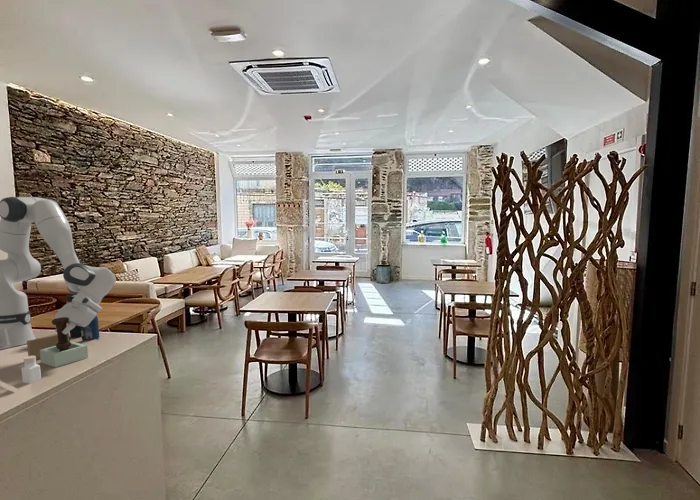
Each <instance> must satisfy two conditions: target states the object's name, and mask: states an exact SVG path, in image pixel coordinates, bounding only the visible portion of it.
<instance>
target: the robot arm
mask: <svg viewBox="0 0 700 500" xmlns="http://www.w3.org/2000/svg"><path fill="white" fill-rule="evenodd" d="M32 223H34V224H35V227H36V229H37V231H38V232H39V234H40V236H41V237H42V239H43V240H44V241H45V242H46V244H47V245H48V246H49V247H50V249H51V250H52V251H53V252H54V254H56V256H57V258H58V260H59V262H60V264H61V266H62V268H63V269H64V270H63V271H62V272H63V273H62V277H63V280H64V282H65V283H64V284H65V285H66V288H67V291H68V292H69V293H70V294H71V295H72V294H74V295H76V296H75V297H74V298H73V299H72V302H71V303H67V302H66V304H64V305H63V306H62V307H61V308H60V309H59V310H58V311H57V312H56V313H55V315H54V317H53V318H54V319H57V318H62V317H67V318H69V320H68V321H69V322H68V323H66V325H67V324H68V325H67V326H66V328H64V329H63V330H62V331H61V333H63V334H67V333H68V332H69V333H70V330H72V329H73V328H74V327H75V326H76V325H77V326H81V327H86V326H87V325H89V324H90V322H91V321H92V320H93V319H94V318H95V316H97V314H98V313H100V312H102V310H103V308H102V306H100V303H101V302H102V300H103V298H104V297H105V296H107V295H108V294H109V292H111V290H112V288H113V287H114V285H115V284H116V283H117V282H116V281H117V277H116V274H115V273H114V272H113V271H112V270H111V269H109V268H108V267H106V266H99V267H98V266H97V267H96V266H90V265H86V264H83V263H81V262H80V260H79V258H78V256H77V254H76V250H75V246H74V240H73V233H72V228H71V226H70V222H69V220H68V218H67V216H66V215H65V213H64V211H63V210H62V209H61V206H60V205H59V203H58V201H56V200H55V199H52V198H48V197H45V198H44V197H37V196H18V197H17V196H9V197H7V196H6V197H4V198H2V199H1V200H0V251H1V252H4V253H6V254H7V258H5V259H0V350H6V349H9V348H13V347H17V346H23V345H27V341H29V340H34V339H37V337H35V334H34V331H33V329H32V325H31V320H32V319H31V312H30V311H31V310H29V301H28V295H27V294H26V292H23V291H21V290H18V289H17V288H15V286H14V283H20V282H24V281H29V280H31V279H35V278H37V277H38V276H39V275H40V274H41V271H42V265H41V263H40V262H39V260H37V259H36V258H34V257H33V256H32V254H31V251H30V247H29V246H30V237H31V230H32V229H31V228H32ZM54 332H56V333H57V329H56V328H55V329H54Z"/></svg>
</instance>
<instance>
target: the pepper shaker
mask: <svg viewBox="0 0 700 500" xmlns="http://www.w3.org/2000/svg"><path fill="white" fill-rule="evenodd" d="M23 364H24V366H23V367H21V369H20V370H21V371H20V372H21V380H22V383H23V384H34V383H36V382H38V381H41V380H42V373H41V366H40V364H37V360H36V356H28V355H27V356H25V357H23Z"/></svg>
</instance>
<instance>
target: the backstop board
mask: <svg viewBox="0 0 700 500" xmlns="http://www.w3.org/2000/svg"><path fill="white" fill-rule="evenodd" d="M67 336H68V341H70V331H69V332H68V333H67ZM57 343H59V342H58V336H57V333H54V334H50V335H45V336H41V337H39V338H36V339H34V340H29V341H27V344H26V347H27V357H28V356H36V361H38V360H41V358H40V350H41V349H45V348H49V347H53V346H56V344H57Z"/></svg>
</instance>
